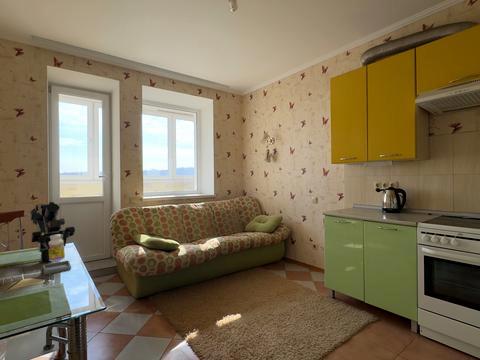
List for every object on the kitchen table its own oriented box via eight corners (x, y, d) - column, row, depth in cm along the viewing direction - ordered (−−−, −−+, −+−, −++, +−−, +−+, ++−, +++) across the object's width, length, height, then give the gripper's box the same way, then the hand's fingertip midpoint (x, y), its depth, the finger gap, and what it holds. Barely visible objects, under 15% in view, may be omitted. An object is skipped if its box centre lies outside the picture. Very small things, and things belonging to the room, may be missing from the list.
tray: (43, 268, 138) (43, 264, 138) (68, 263, 145) (68, 260, 145) (44, 274, 129) (43, 271, 129) (71, 269, 136) (70, 266, 136)
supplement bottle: (46, 262, 133) (44, 237, 133) (54, 257, 140) (53, 233, 139) (59, 261, 134) (57, 237, 133) (67, 257, 140) (66, 233, 139)
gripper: (31, 216, 131) (36, 242, 125) (73, 211, 145) (80, 235, 138) (28, 229, 137) (33, 255, 130) (69, 223, 151) (76, 246, 144)
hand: (57, 247), depth 135 cm, fingers closed on supplement bottle, 7 cm apart
